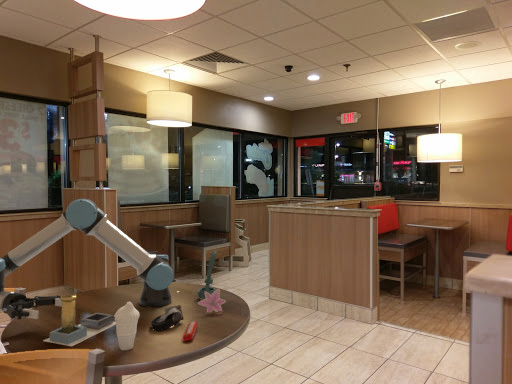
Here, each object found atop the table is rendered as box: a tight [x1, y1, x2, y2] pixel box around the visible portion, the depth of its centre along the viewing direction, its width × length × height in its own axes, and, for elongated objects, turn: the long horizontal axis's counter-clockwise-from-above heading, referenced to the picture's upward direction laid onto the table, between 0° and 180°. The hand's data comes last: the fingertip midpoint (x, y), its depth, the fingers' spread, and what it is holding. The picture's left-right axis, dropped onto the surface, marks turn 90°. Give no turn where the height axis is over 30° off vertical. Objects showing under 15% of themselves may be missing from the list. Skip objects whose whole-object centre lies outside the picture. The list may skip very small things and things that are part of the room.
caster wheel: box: [150, 304, 185, 332], centre depth 145 cm, size 7×11×10 cm
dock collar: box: [49, 324, 87, 344], centre depth 130 cm, size 8×8×3 cm
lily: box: [197, 288, 227, 313], centre depth 164 cm, size 12×12×10 cm
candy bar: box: [182, 320, 199, 342], centre depth 138 cm, size 16×4×3 cm, turn 1°
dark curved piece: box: [197, 250, 218, 299], centre depth 182 cm, size 14×10×25 cm
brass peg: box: [60, 293, 78, 334], centre depth 130 cm, size 5×5×15 cm
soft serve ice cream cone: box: [113, 301, 141, 351], centre depth 125 cm, size 8×8×16 cm
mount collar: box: [80, 312, 114, 330], centre depth 143 cm, size 8×8×3 cm
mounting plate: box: [42, 321, 116, 347], centre depth 137 cm, size 24×13×1 cm, turn 162°
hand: (54, 309), depth 132 cm, fingers open, 13 cm apart
